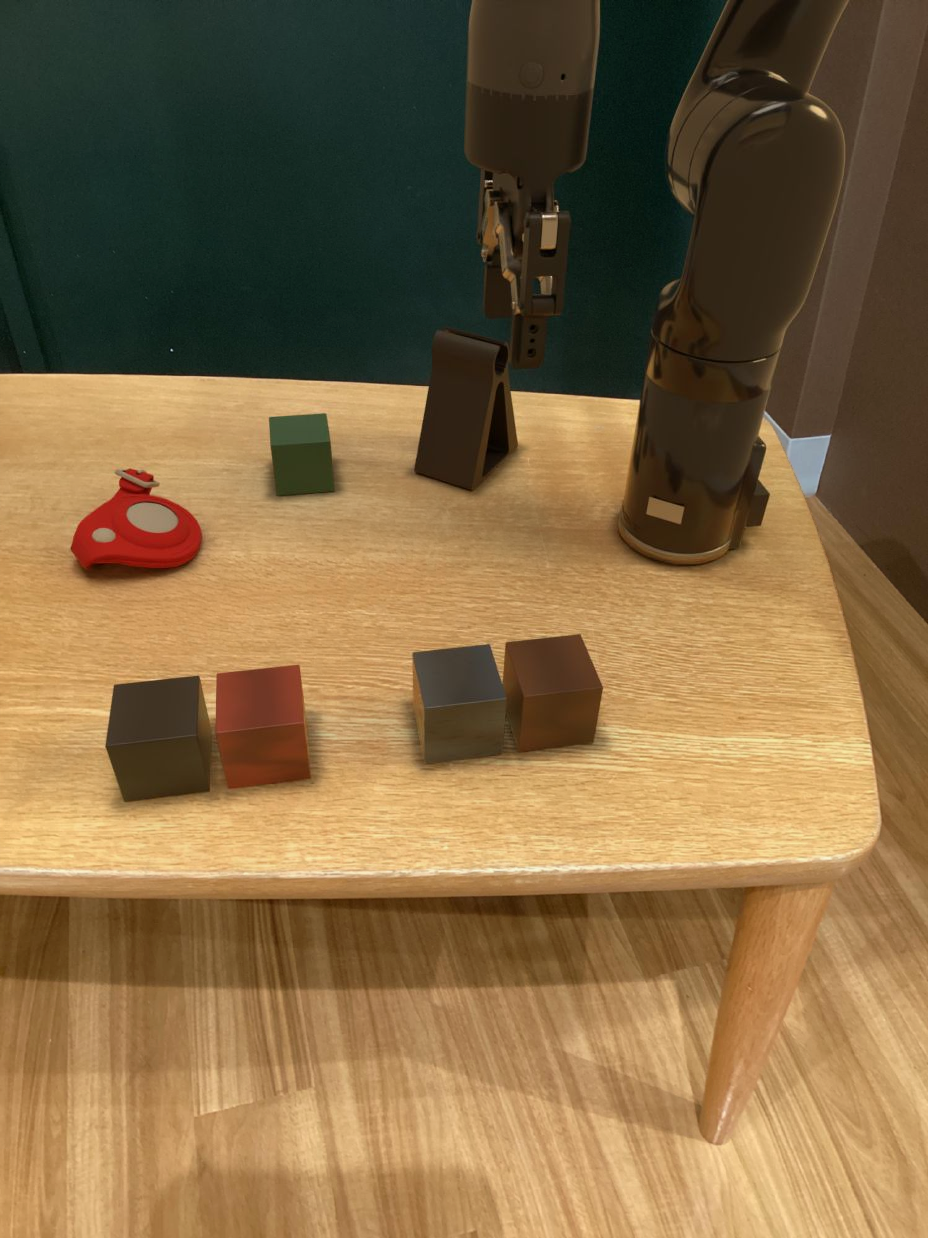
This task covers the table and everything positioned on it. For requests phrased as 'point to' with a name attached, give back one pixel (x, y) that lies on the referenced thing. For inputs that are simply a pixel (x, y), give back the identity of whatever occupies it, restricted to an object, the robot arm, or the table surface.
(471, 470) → the phone stand
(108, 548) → the tracker holder
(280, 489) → the green block
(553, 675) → the block line
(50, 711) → the table surface
